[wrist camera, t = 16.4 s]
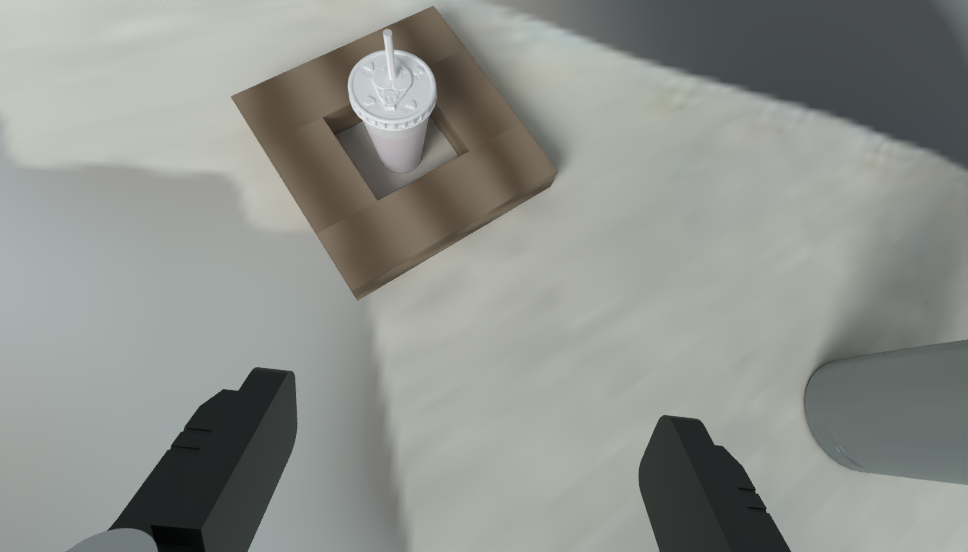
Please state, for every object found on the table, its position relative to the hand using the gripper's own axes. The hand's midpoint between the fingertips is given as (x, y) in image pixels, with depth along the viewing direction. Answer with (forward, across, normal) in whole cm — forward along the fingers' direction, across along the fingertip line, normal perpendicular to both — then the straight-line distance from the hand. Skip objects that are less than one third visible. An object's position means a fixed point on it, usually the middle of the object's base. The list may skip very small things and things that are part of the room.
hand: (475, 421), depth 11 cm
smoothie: (+36, +7, +4) cm, 37 cm away
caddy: (+36, +7, +4) cm, 37 cm away
